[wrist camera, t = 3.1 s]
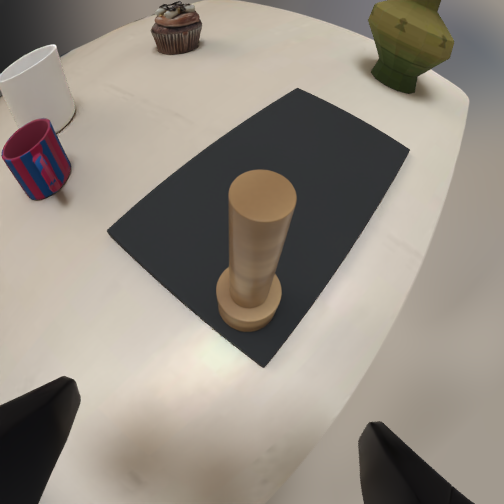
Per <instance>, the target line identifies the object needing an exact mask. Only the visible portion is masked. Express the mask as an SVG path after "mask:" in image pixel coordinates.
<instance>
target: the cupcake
mask: <svg viewBox="0 0 504 504" xmlns="http://www.w3.org/2000/svg"><path fill="white" fill-rule="evenodd" d="M170 5H174V6H172V7H170V8H169V7H167V6H170ZM170 5H166V4H164V5H162V6H160V7H159V9H158V10H156V11H155V14H156V15H157V17H156V18H155V24H154V25H153V27H152V29H151V33H152V35H153V37H154V39H155V42H156V45H157V49H158V51H159V52H161V53H163V54H172V55H173V54H181V53H186V52H188V51H192V50H194V49H196V48H197V47H198V43H199V38H200V32H201V29H202V23H201V20H200V19H199V14H198V13H196V11H195V6H194V5H190V4H182V2H180V1H178V2H175V3H173V4H170Z"/></svg>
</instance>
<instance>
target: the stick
mask: <svg viewBox="0 0 504 504" xmlns="http://www.w3.org/2000/svg"><path fill="white" fill-rule="evenodd" d="M296 201H297V196H296V192H295V189H294V187H293V185H292V184H291V183H290V182H289V180H287V179H286V178H285V177H284V176H282V175H280V174H278V173H276V172H273V171H269V170H252V171H248V172H245V173H243V174H241V175H240V176H238V177H237V178H236V179H235V180H234V181H233V182H232V184H231V186H230V188H229V267H228V268H227V269H226V270H225V271H224V272H223V273H222V274H221V276H220V278H219V280H218V282H217V287H216V295H217V302H218V309H219V313H220V315H221V317H222V319H223V320H224V321H225V323H226V324H228V325H229V326H230V327H232V328H234V329H236V330H238V331H242V332H252V331H257V330H259V329H261V328H263V327H265V326H266V325H267V324H268V323H269V322H270V321H271V319H272V318H273V316H274V314H275V312H276V310H277V307H278V305H279V303H280V300H281V295H282V290H281V284H280V281H279V279H278V277H277V276H276V274H275V271H276V268H277V265H278V262H279V258H280V255H281V252H282V249H283V245H284V242H285V239H286V236H287V232H288V229H289V226H290V222H291V219H292V216H293V212H294V209H295V206H296Z"/></svg>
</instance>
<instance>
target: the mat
mask: <svg viewBox="0 0 504 504" xmlns="http://www.w3.org/2000/svg"><path fill="white" fill-rule="evenodd" d="M409 151H410V149H408V148H407V147H405V146H404V145H402V144H401V143H399V142H397V141H396V140H394V139H393V138H391V137H389V136H388V135H386V134H385V133H383V132H381V131H380V130H378V129H376V128H375V127H373V126H371V125H369V124H368V123H366V122H364V121H362V120H361V119H359V118H357V117H355V116H353V115H352V114H350V113H348V112H346V111H344V110H342V109H340V108H338V107H336V106H335V105H333V104H331V103H329V102H327V101H325V100H323V99H320V98H318V97H316V96H314V95H312V94H310V93H308V92H306V91H303V90H301V89H299V88H296V89H295V90H293V91H291V92H290V93H288V94H286V95H285V96H283V97H281V98H280V99H278V100H277V101H275V102H273V103H272V104H270V105H269V106H267V107H266V108H264V109H262V110H261V111H259V112H258V113H256V114H255V115H253V116H252V117H250V118H249V119H247V120H246V121H244V122H243V123H241V124H240V125H238V126H237V127H235V128H234V129H232V130H231V131H230V132H228V133H227V134H225V135H224V136H222V137H221V138H220V139H218V140H217V141H215V142H214V143H213V144H211V145H210V146H209V147H207V148H206V149H204V150H203V151H202V152H200V153H199V154H198V155H196V156H195V157H194V158H192V159H191V160H190V161H189V162H187V163H186V164H185V165H183V166H182V167H181V168H180V169H178V170H177V171H176V172H174V173H173V174H172V175H171V176H169V177H168V178H167V179H166V180H164V181H163V182H162V183H161V184H160V185H158V186H157V187H156V188H155V189H153V190H152V191H151V192H150V193H149V194H148V195H146V196H145V197H144V198H143V199H142V200H140V201H139V202H138V203H137V204H136V205H135V206H134V207H132V208H131V209H130V210H129V211H128V212H127V213H126V214H124V215H123V216H122V217H121V218H120V219H119V220H118V221H117V222H116V223H114V224H113V225H112V226H111V227H110V228H109V229H108V230H107V232H108V233H109V235H110V236H111V237H112V238H113V239H114V240H115V241H116V242H117V243H118V244H119V245H120V246H121V247H122V248H123V249H124V250H125V251H126V252H127V253H128V254H129V255H130V256H132V257H133V258H134V259H135V260H136V261H137V262H138V263H139V264H140V265H141V266H142V267H143V268H144V269H145V270H146V271H148V272H149V273H150V274H151V275H152V276H153V277H154V278H155V279H156V280H157V281H158V282H160V283H161V284H162V285H163V286H164V287H165V288H166V289H167V290H169V291H170V292H171V293H172V294H173V295H174V296H175V297H176V298H178V299H179V300H180V301H181V302H182V303H183V304H185V305H186V306H187V307H188V308H189V309H190V310H192V311H193V312H194V313H195V314H196V315H197V316H199V317H200V318H201V319H202V320H203V321H205V322H206V323H207V324H208V325H209V326H211V327H212V328H213V329H214V330H216V331H217V332H218V333H219V334H220V335H222V336H223V337H224V338H225V339H227V340H228V341H229V342H230V343H232V344H233V345H234V346H236V347H237V348H238V349H239V350H241V351H242V352H243V353H245V354H246V355H247V356H248V357H250V358H251V359H252V360H254V361H255V362H256V363H258V364H259V365H260V366H262V367H263V368H264V367H265V366H266V365H267V364H268V362H269V361H270V360H271V359H272V357H273V356H274V355H275V354H276V352H277V351H278V350H279V348H280V347H281V346H282V345H283V343H284V342H285V341H286V339H287V338H288V337H289V335H290V334H291V333H292V332H293V330H294V329H295V328H296V326H297V325H298V324H299V322H300V321H301V319H302V318H303V317H304V315H305V314H306V313H307V311H308V310H309V309H310V307H311V306H312V304H313V303H314V302H315V300H316V299H317V297H318V296H319V295H320V293H321V292H322V290H323V289H324V288H325V286H326V285H327V283H328V282H329V280H330V279H331V277H332V276H333V275H334V273H335V272H336V270H337V269H338V267H339V266H340V264H341V263H342V261H343V260H344V258H345V257H346V255H347V254H348V252H349V251H350V249H351V248H352V246H353V245H354V243H355V242H356V240H357V238H358V237H359V235H360V234H361V232H362V231H363V229H364V227H365V226H366V224H367V223H368V221H369V220H370V218H371V216H372V215H373V213H374V211H375V210H376V208H377V207H378V205H379V203H380V202H381V200H382V198H383V197H384V195H385V193H386V192H387V190H388V188H389V186H390V185H391V183H392V181H393V180H394V178H395V176H396V174H397V173H398V171H399V169H400V167H401V166H402V164H403V162H404V160H405V158H406V157H407V155H408V153H409ZM252 170H269V171H273V172H276V173H278V174H280V175H282V176H284V177H285V178H286V179H287V180H289V182H290V183H291V184H292V185H293V187H294V189H295V192H296V196H297V201H296V206H295V209H294V212H293V216H292V219H291V222H290V226H289V229H288V232H287V236H286V239H285V242H284V245H283V249H282V252H281V255H280V258H279V262H278V265H277V268H276V271H275V274H276V276H277V277H278V279H279V281H280V284H281V290H282V295H281V300H280V303H279V305H278V307H277V310H276V312H275V314H274V316H273V318H272V319H271V321H270V322H269V323H268V324H267V325H266V326H265V327H263V328H261V329H259V330H257V331H252V332H242V331H238V330H236V329H234V328H232V327H230V326H229V325H228V324H226V323H225V321H224V320H223V319H222V317H221V315H220V313H219V309H218V302H217V295H216V287H217V282H218V280H219V278H220V276H221V274H222V273H223V272H224V271H225V270H226V269H227V268H228V267H229V188H230V186H231V184H232V182H233V181H234V180H235V179H236V178H237V177H238V176H240V175H241V174H243V173H245V172H248V171H252Z"/></svg>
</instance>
